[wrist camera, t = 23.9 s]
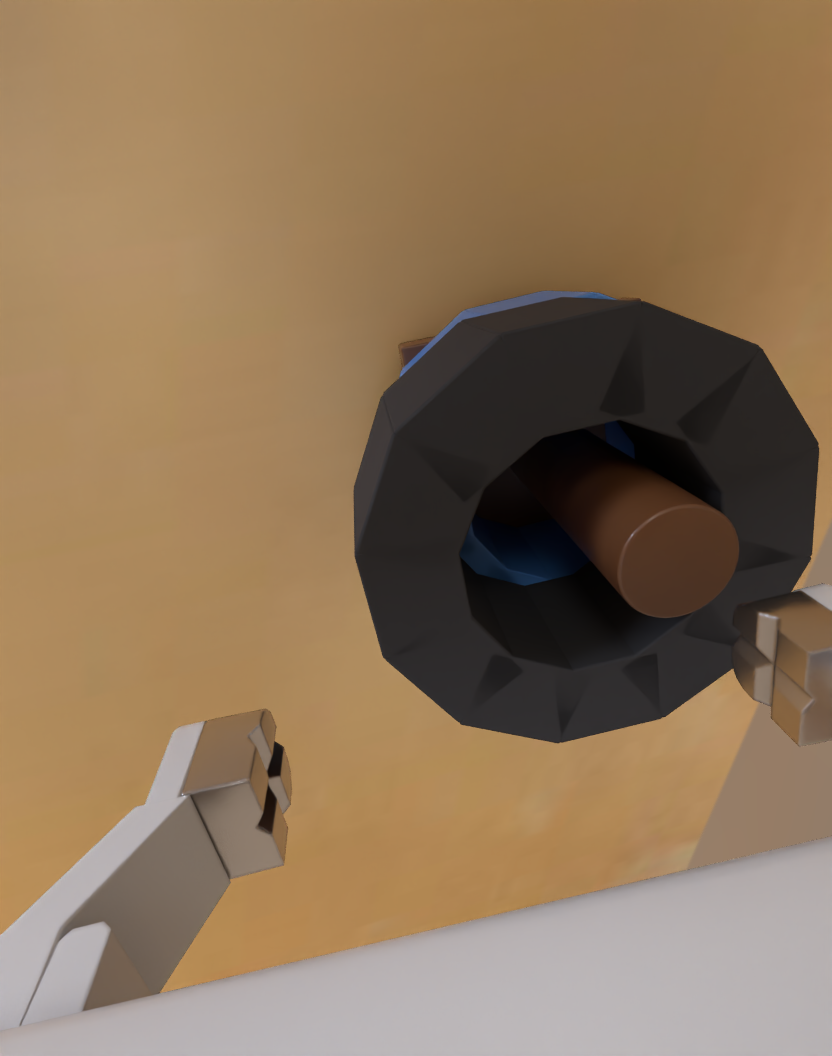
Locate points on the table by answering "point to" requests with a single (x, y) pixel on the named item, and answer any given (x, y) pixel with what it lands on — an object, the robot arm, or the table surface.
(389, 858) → the table surface
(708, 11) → the table surface
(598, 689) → the ring
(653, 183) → the table surface
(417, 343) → the wooden stand
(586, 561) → the blue tape
